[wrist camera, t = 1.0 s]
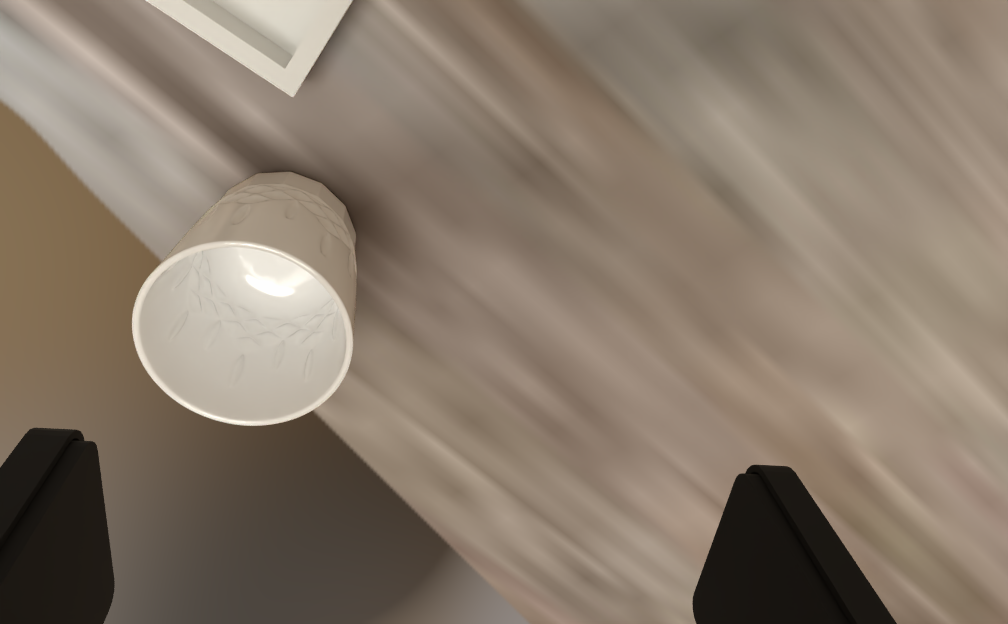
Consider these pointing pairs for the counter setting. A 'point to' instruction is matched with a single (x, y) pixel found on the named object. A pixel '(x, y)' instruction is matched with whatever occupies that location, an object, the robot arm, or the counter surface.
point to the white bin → (264, 32)
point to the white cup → (254, 304)
